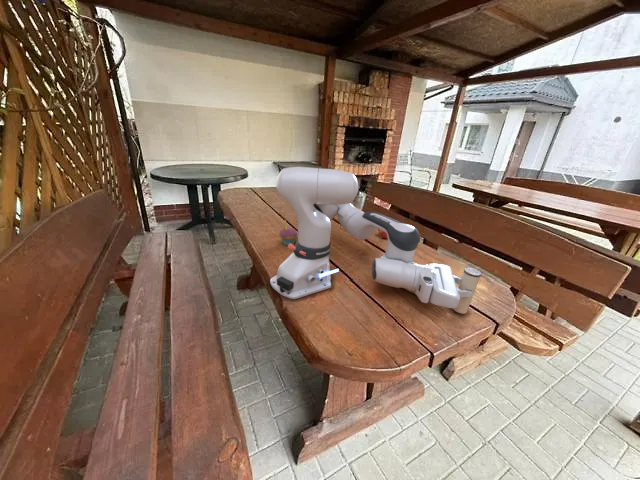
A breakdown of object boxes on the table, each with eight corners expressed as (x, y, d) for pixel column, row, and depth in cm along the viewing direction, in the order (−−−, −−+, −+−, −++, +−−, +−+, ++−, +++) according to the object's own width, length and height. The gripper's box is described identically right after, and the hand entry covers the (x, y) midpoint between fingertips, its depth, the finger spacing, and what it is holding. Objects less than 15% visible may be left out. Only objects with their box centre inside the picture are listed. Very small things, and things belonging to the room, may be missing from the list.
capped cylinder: (464, 316, 81) (478, 277, 75) (449, 308, 83) (462, 270, 78) (469, 309, 84) (483, 272, 78) (454, 302, 86) (467, 266, 81)
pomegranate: (374, 242, 135) (390, 236, 127) (370, 228, 136) (385, 222, 128) (383, 240, 140) (398, 234, 132) (378, 227, 141) (394, 220, 133)
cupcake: (285, 248, 116) (285, 223, 111) (275, 241, 122) (275, 217, 117) (301, 244, 121) (302, 219, 116) (291, 237, 127) (291, 214, 122)
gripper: (419, 272, 94) (460, 280, 90) (422, 305, 76) (474, 317, 72) (423, 256, 91) (466, 264, 88) (427, 287, 73) (481, 299, 70)
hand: (470, 288), depth 80 cm, fingers closed on capped cylinder, 4 cm apart
